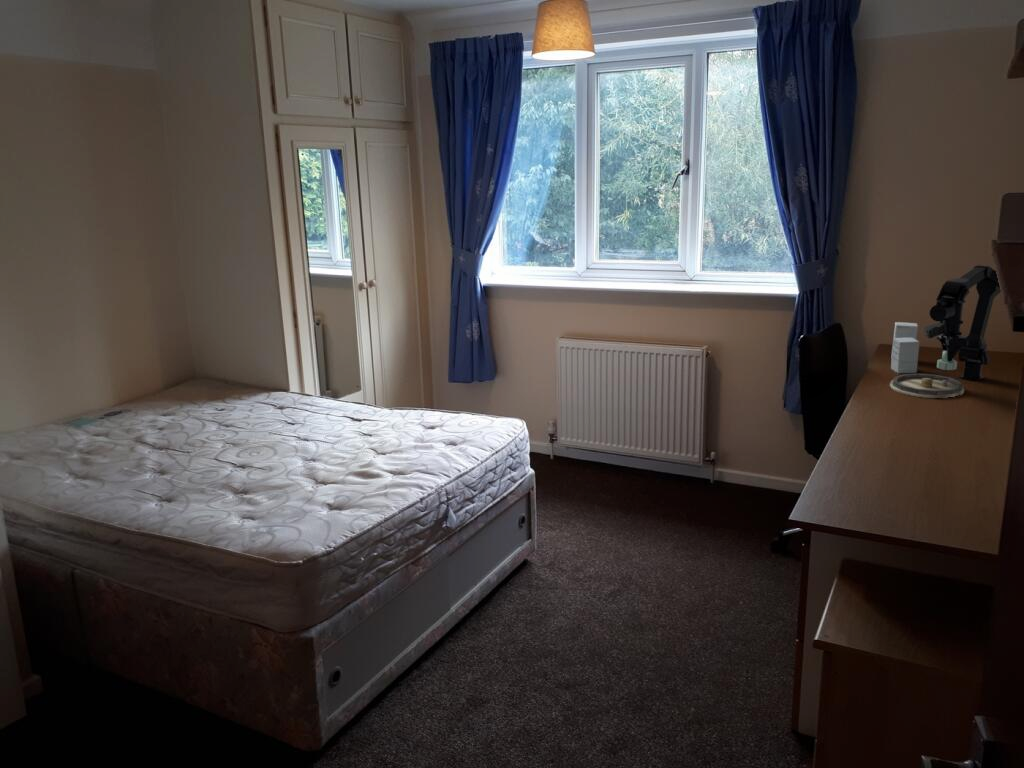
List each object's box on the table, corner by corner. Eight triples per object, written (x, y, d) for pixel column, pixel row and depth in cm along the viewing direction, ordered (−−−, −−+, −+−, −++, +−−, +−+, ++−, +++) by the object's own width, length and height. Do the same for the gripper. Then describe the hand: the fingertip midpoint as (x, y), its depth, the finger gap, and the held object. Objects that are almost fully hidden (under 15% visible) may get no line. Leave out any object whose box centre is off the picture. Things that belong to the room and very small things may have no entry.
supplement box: (909, 368, 314) (912, 337, 310) (917, 373, 306) (920, 341, 303) (890, 368, 314) (892, 337, 311) (897, 373, 307) (899, 341, 304)
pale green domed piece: (942, 364, 288) (944, 348, 286) (959, 367, 283) (961, 351, 282) (933, 367, 285) (935, 351, 283) (950, 371, 280) (952, 354, 278)
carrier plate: (912, 375, 303) (913, 366, 302) (977, 389, 284) (978, 379, 283) (876, 388, 291) (876, 379, 290) (941, 402, 271) (942, 393, 270)
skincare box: (891, 362, 322) (895, 325, 318) (890, 358, 328) (894, 321, 324) (914, 363, 319) (918, 325, 315) (913, 359, 325) (917, 322, 321)
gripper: (919, 311, 289) (915, 353, 294) (935, 322, 272) (931, 366, 276) (952, 311, 287) (948, 353, 291) (971, 322, 270) (966, 366, 274)
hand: (947, 359), depth 283 cm, fingers closed on pale green domed piece, 4 cm apart
